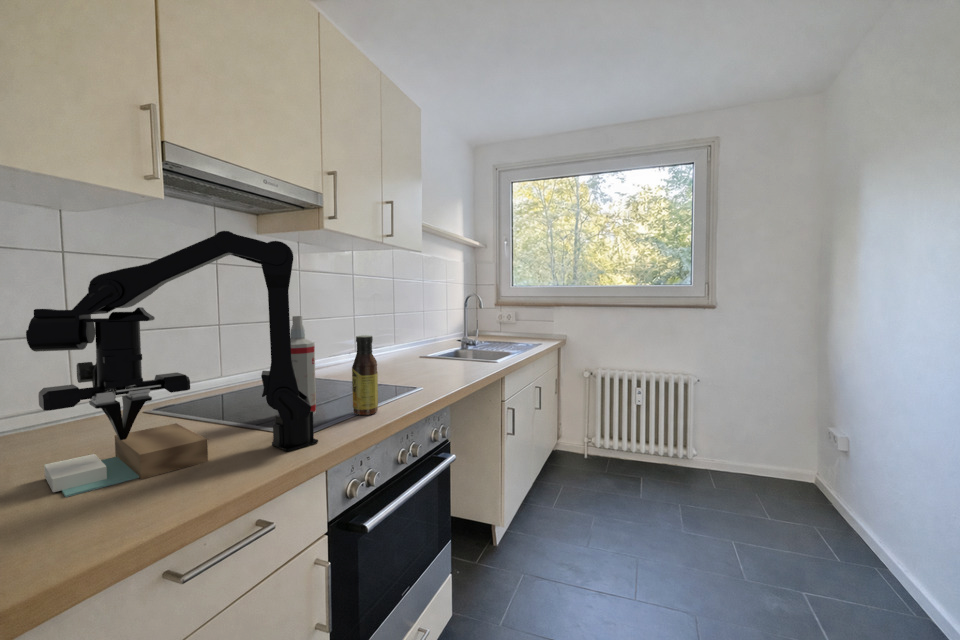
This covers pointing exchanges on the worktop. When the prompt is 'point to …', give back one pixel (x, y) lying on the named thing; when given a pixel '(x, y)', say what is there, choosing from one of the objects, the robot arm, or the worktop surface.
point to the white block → (74, 472)
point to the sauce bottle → (365, 378)
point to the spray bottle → (303, 361)
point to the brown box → (161, 450)
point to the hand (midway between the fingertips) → (122, 439)
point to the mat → (115, 475)
